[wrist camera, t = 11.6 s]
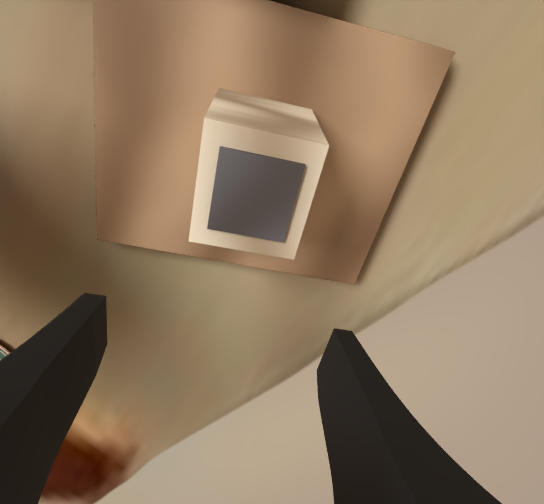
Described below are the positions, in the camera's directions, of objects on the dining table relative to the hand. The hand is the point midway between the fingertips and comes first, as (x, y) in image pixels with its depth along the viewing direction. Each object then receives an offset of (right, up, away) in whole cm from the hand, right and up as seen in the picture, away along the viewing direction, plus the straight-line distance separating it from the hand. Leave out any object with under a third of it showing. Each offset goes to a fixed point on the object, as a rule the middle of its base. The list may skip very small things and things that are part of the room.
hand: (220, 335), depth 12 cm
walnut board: (+1, +8, +6) cm, 10 cm away
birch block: (+1, +7, +5) cm, 9 cm away
